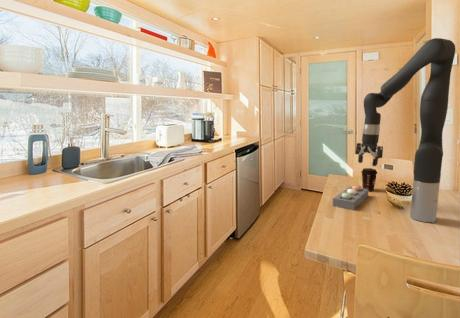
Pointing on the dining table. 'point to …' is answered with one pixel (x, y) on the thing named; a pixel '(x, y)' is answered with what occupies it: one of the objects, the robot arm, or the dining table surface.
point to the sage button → (346, 196)
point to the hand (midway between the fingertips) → (367, 164)
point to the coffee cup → (368, 178)
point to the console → (354, 199)
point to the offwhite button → (351, 191)
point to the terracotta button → (356, 188)
